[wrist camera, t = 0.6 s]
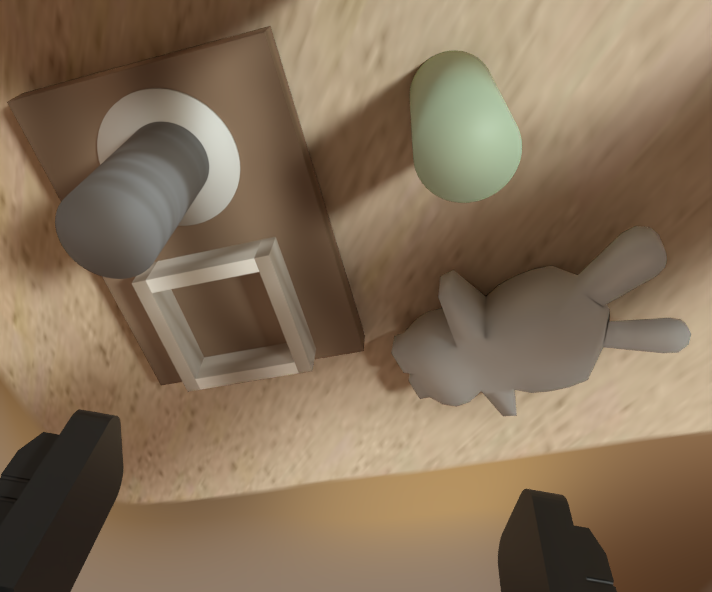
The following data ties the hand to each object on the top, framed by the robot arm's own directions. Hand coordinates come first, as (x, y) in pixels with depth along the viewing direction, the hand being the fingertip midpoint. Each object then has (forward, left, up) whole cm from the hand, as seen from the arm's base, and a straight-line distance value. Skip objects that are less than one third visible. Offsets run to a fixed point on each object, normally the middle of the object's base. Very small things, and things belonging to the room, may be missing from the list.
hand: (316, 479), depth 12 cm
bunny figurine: (-6, +12, -23) cm, 27 cm away
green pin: (-4, -1, -22) cm, 23 cm away
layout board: (+10, +3, -22) cm, 24 cm away
